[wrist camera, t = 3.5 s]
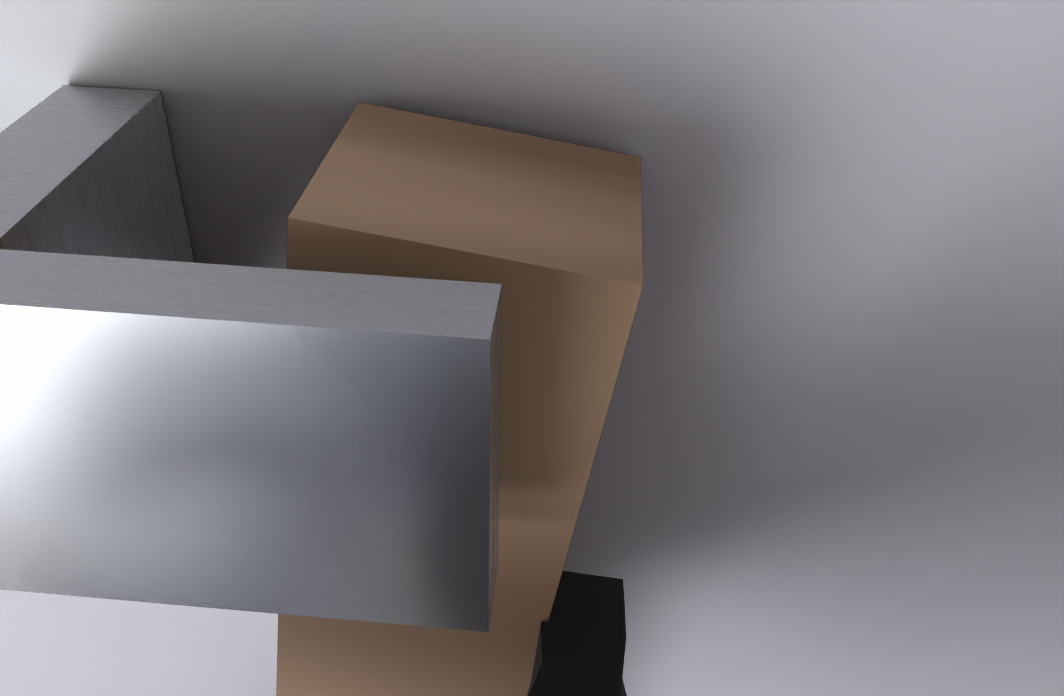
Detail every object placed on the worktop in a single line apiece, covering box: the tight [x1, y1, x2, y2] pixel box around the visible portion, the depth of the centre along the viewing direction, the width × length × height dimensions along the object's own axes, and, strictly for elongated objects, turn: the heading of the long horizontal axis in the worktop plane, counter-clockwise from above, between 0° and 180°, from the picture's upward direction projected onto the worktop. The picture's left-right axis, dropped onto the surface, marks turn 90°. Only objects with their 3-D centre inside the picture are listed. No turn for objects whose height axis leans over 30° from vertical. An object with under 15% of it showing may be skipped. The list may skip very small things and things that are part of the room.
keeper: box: [0, 85, 502, 632], centre depth 9 cm, size 3×5×4 cm, turn 88°
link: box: [276, 102, 643, 696], centre depth 12 cm, size 12×3×3 cm, turn 170°
